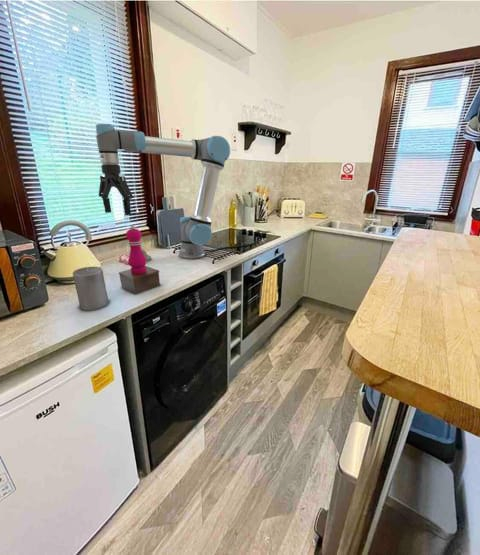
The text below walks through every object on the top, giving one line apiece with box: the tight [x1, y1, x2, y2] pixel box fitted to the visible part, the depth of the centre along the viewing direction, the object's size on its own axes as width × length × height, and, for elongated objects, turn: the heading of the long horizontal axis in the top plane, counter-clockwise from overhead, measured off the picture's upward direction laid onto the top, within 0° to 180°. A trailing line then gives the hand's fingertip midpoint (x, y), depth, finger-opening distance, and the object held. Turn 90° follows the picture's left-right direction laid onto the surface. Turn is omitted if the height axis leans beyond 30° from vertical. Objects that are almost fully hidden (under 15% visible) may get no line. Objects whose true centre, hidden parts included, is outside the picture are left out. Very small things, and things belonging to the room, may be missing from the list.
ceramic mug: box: [128, 248, 152, 260], centre depth 153 cm, size 11×8×8 cm
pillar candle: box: [72, 266, 109, 311], centre depth 101 cm, size 10×10×15 cm
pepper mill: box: [125, 224, 147, 274], centre depth 114 cm, size 7×7×20 cm
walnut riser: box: [118, 265, 161, 295], centre depth 119 cm, size 12×11×7 cm
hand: (118, 213), depth 127 cm, fingers open, 13 cm apart
